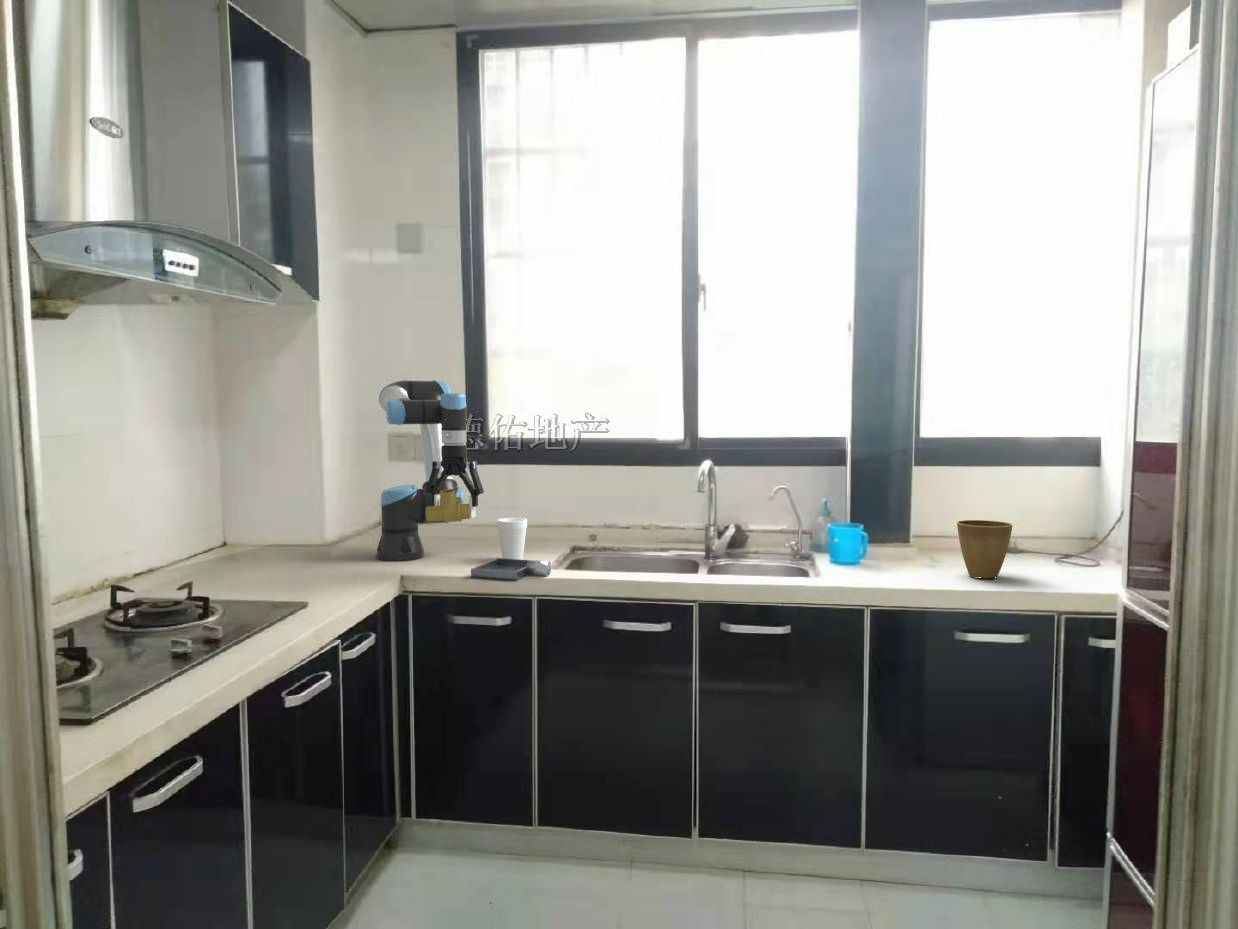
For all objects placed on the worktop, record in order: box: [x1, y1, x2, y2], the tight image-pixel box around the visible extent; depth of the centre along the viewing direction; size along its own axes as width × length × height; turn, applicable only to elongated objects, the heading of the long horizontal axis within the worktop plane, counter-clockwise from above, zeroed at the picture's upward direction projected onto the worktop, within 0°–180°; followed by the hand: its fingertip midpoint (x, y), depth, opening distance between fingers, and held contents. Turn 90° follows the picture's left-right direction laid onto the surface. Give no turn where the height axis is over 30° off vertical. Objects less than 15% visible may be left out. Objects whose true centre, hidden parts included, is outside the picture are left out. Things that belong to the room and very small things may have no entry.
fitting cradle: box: [470, 557, 552, 582], centre depth 248 cm, size 21×18×4 cm
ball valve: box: [425, 489, 471, 523], centre depth 252 cm, size 13×10×10 cm
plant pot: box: [956, 519, 1014, 578], centre depth 244 cm, size 15×15×16 cm
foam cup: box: [496, 517, 528, 560], centre depth 270 cm, size 10×9×13 cm
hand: (455, 516), depth 253 cm, fingers closed on ball valve, 11 cm apart
